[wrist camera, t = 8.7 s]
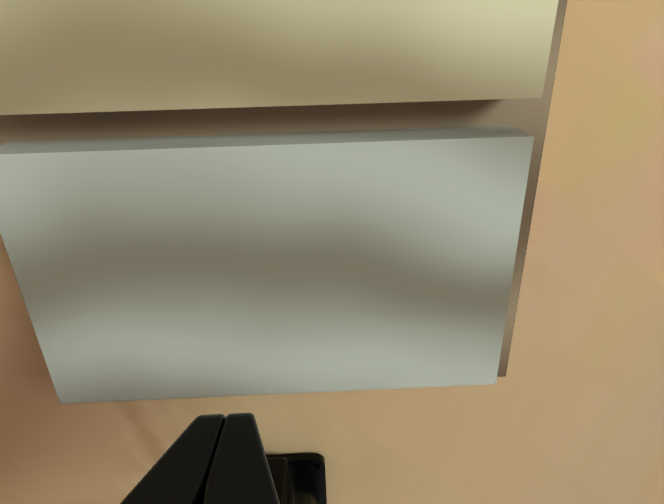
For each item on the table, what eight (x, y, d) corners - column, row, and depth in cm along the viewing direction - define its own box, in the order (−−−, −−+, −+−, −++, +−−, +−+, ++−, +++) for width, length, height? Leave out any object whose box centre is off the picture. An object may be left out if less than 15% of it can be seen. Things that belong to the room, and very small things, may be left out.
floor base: (465, 303, 22) (521, 405, 16) (112, 318, 22) (37, 428, 16) (559, -545, 12) (811, -1128, 6) (-115, -545, 11) (-583, -1167, 5)
